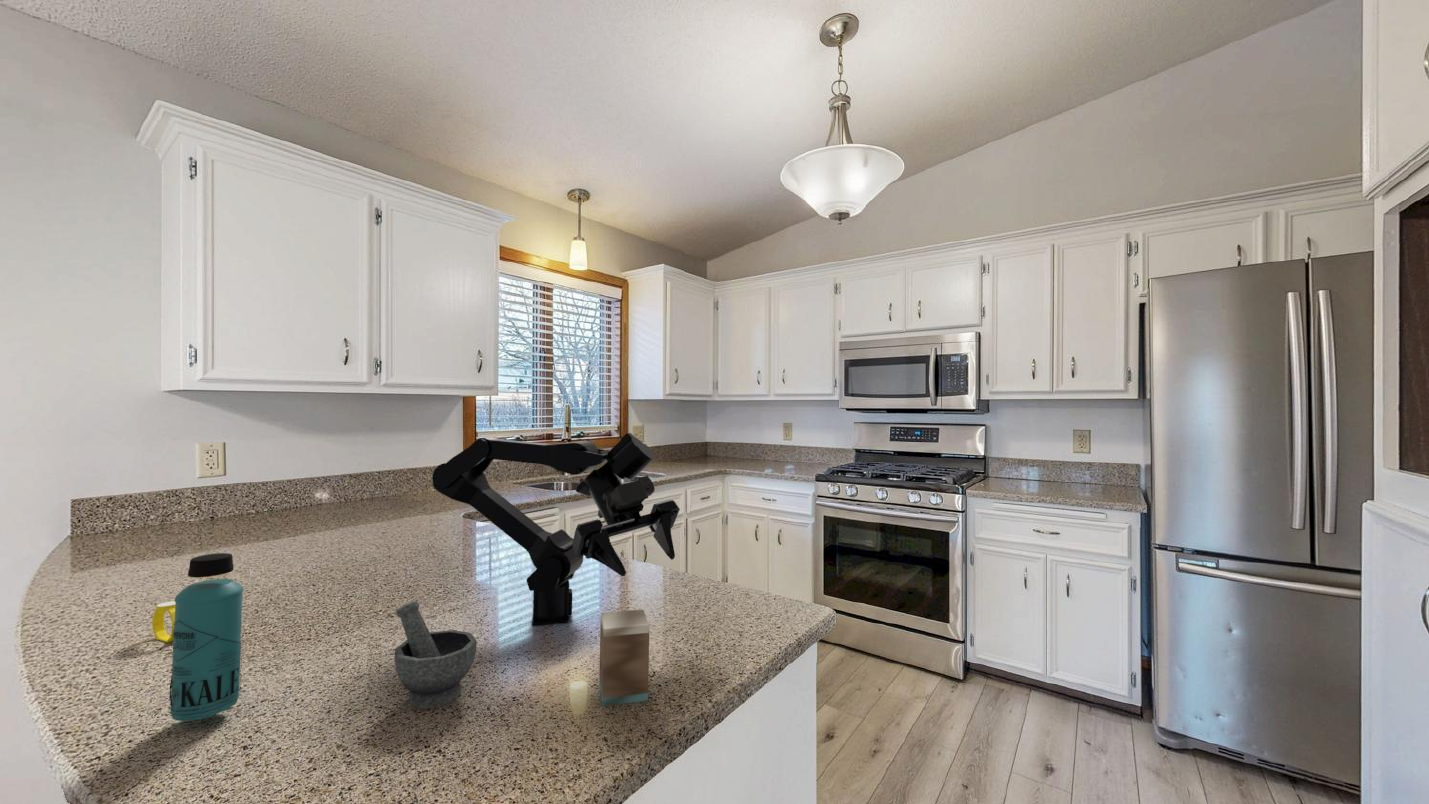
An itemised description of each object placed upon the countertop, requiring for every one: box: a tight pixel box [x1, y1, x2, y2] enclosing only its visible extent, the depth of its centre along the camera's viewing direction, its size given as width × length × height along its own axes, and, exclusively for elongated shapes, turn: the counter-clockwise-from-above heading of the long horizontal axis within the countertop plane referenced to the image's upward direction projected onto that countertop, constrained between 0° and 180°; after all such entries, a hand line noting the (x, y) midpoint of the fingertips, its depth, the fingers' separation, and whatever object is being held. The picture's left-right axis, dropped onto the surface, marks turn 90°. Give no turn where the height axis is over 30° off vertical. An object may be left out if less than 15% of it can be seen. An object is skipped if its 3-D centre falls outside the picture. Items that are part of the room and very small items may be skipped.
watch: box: [151, 600, 175, 644], centre depth 90 cm, size 6×3×6 cm, turn 69°
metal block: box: [598, 609, 651, 707], centre depth 76 cm, size 6×6×10 cm
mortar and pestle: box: [394, 601, 478, 710], centre depth 74 cm, size 11×9×12 cm
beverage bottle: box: [168, 552, 244, 722], centre depth 68 cm, size 6×7×20 cm
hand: (649, 566), depth 91 cm, fingers open, 9 cm apart
